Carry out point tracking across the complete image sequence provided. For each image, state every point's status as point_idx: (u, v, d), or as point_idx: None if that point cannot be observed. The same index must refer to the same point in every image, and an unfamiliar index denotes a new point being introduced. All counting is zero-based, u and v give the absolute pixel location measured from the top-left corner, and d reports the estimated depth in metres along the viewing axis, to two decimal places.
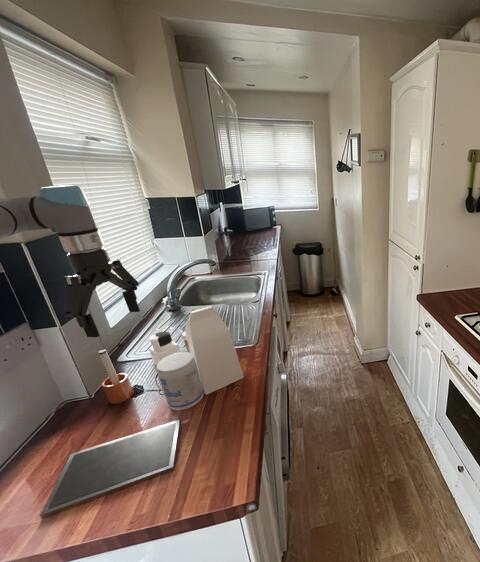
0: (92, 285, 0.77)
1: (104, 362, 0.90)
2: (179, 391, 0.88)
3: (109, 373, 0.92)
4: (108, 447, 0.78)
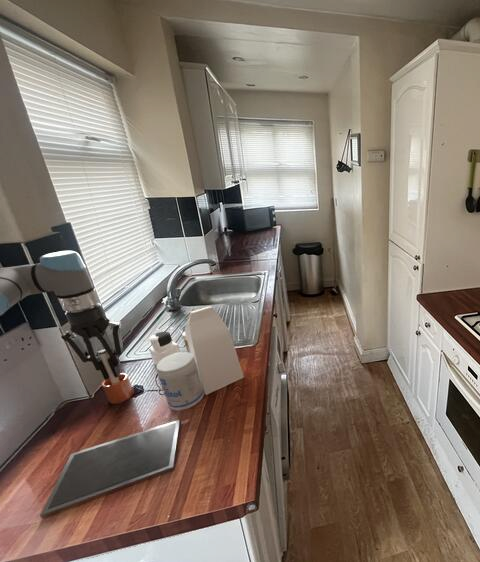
0: (84, 340, 0.86)
1: (104, 362, 0.90)
2: (179, 391, 0.88)
3: (109, 373, 0.92)
4: (108, 447, 0.78)
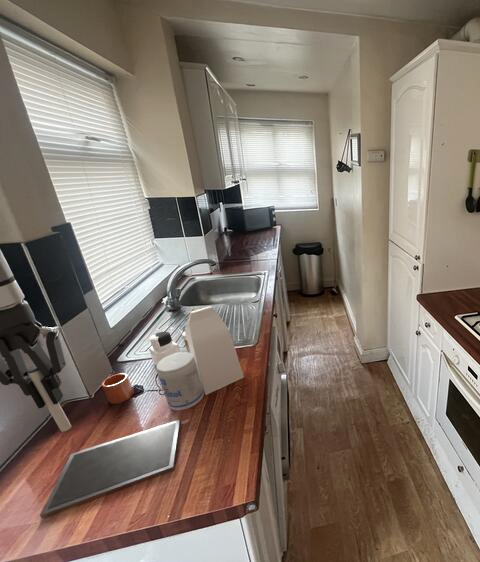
0: (2, 354, 0.60)
1: (36, 384, 0.64)
2: (179, 391, 0.88)
3: (45, 399, 0.66)
4: (108, 447, 0.78)
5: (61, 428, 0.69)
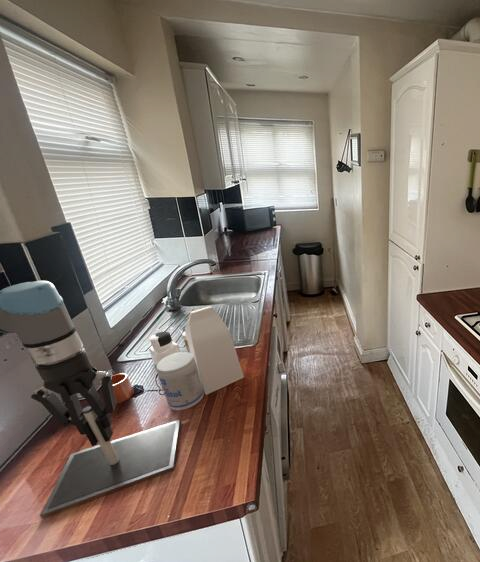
0: (63, 399, 0.64)
1: (90, 423, 0.68)
2: (179, 391, 0.88)
3: (97, 436, 0.70)
4: None
5: (110, 462, 0.73)
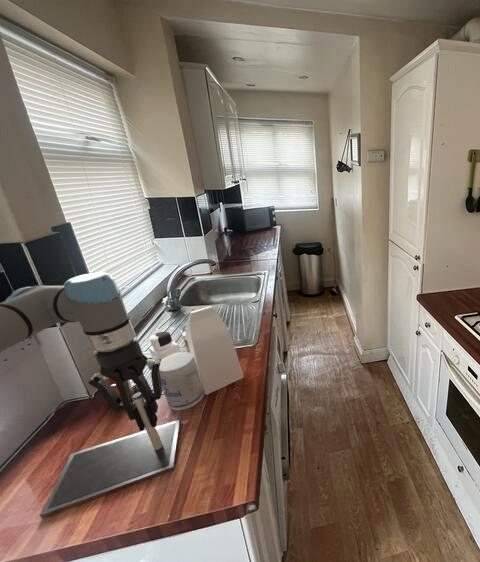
0: (117, 385, 0.67)
1: (139, 409, 0.72)
2: (179, 391, 0.88)
3: (145, 421, 0.73)
4: (108, 447, 0.78)
5: (155, 447, 0.77)
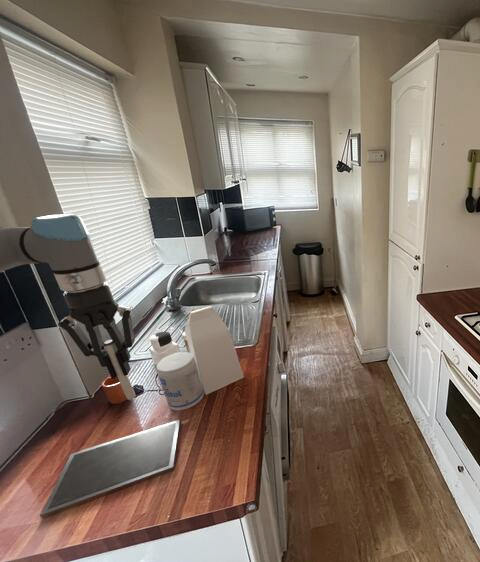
0: (87, 328, 0.68)
1: (110, 356, 0.73)
2: (179, 391, 0.88)
3: (116, 369, 0.74)
4: (108, 447, 0.78)
5: (128, 396, 0.78)
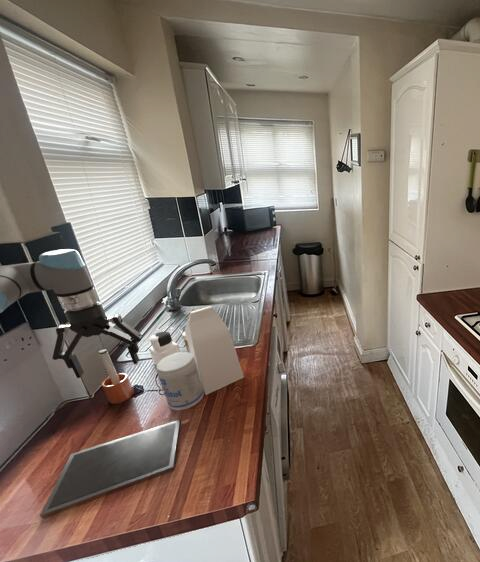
0: (75, 337, 0.85)
1: (104, 362, 0.90)
2: (179, 391, 0.88)
3: (109, 373, 0.92)
4: (108, 447, 0.78)
5: None
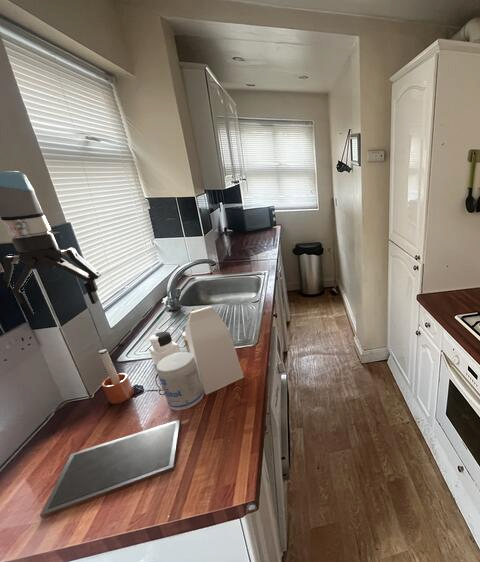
0: (25, 268, 0.80)
1: (104, 362, 0.90)
2: (179, 391, 0.88)
3: (109, 373, 0.92)
4: (108, 447, 0.78)
5: None
